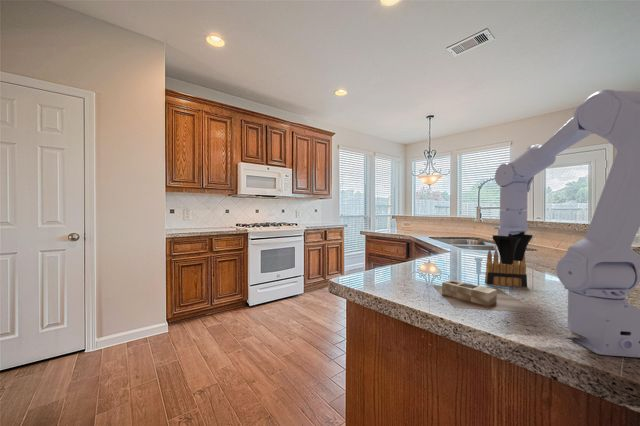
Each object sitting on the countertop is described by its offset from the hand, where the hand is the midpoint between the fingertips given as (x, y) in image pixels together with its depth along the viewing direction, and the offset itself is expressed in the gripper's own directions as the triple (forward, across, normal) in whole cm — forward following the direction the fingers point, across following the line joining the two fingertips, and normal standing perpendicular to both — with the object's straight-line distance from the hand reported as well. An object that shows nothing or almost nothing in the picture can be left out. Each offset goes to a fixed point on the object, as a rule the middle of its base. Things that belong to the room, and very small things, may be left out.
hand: (512, 262), depth 68 cm
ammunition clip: (+11, -12, -5) cm, 17 cm away
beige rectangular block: (+9, +11, -6) cm, 15 cm away
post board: (+10, +8, -5) cm, 14 cm away
